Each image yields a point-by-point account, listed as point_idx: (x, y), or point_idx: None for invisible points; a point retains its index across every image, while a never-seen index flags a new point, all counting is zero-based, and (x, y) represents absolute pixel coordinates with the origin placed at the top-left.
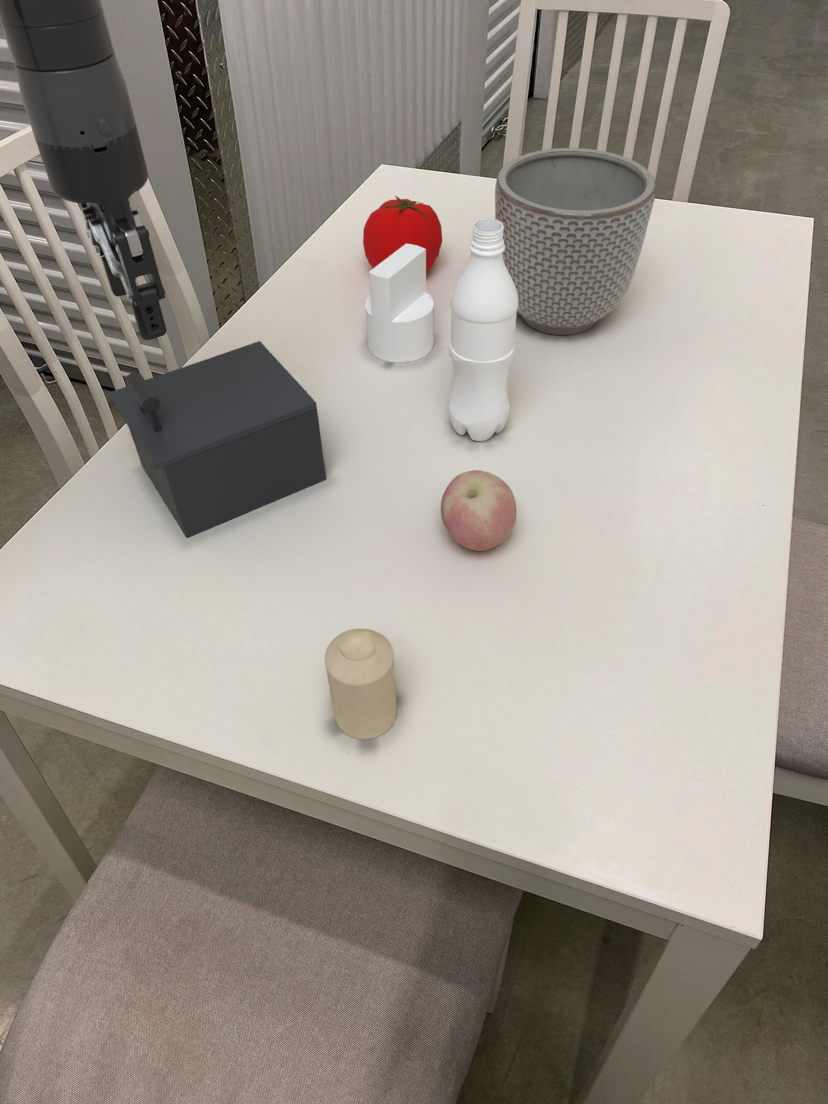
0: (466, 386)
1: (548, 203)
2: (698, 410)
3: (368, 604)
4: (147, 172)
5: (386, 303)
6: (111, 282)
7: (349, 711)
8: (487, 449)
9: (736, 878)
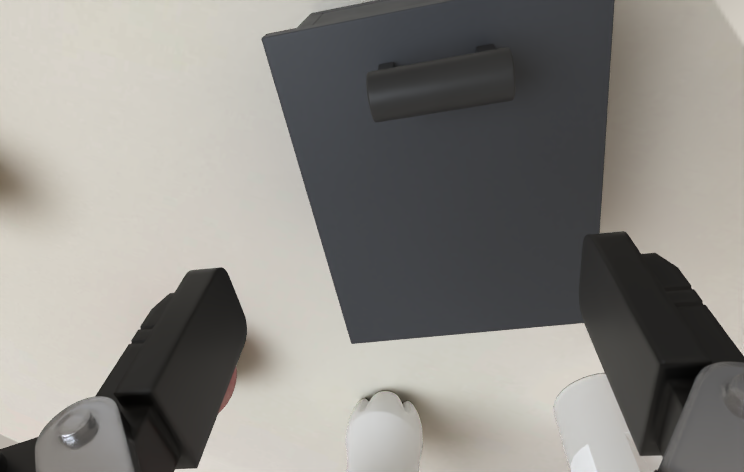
0: (366, 464)
1: None
2: None
3: (123, 217)
4: None
5: (603, 470)
6: (608, 276)
7: None
8: (344, 401)
9: None
